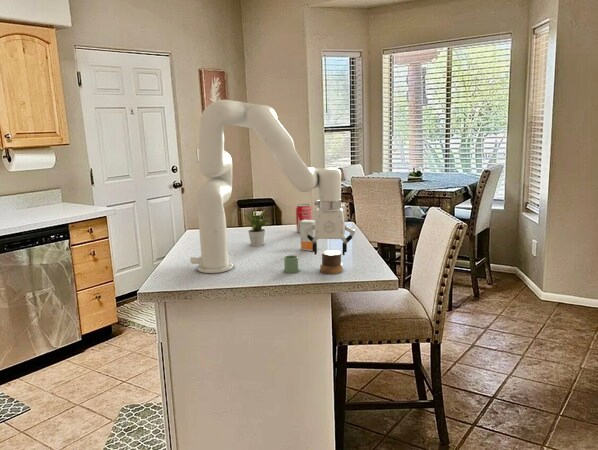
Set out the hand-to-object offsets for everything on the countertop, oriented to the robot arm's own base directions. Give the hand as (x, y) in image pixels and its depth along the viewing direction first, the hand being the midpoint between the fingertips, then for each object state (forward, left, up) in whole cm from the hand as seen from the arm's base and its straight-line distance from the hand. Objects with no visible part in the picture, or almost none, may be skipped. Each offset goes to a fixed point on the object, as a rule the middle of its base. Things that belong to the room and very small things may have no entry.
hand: (329, 253), depth 176 cm
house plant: (-33, +38, -6) cm, 51 cm away
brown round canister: (+1, 0, -4) cm, 4 cm away
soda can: (-14, +64, -6) cm, 66 cm away
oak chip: (+1, 0, -6) cm, 6 cm away
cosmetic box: (-9, +30, -6) cm, 32 cm away
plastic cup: (-13, 0, -6) cm, 15 cm away
